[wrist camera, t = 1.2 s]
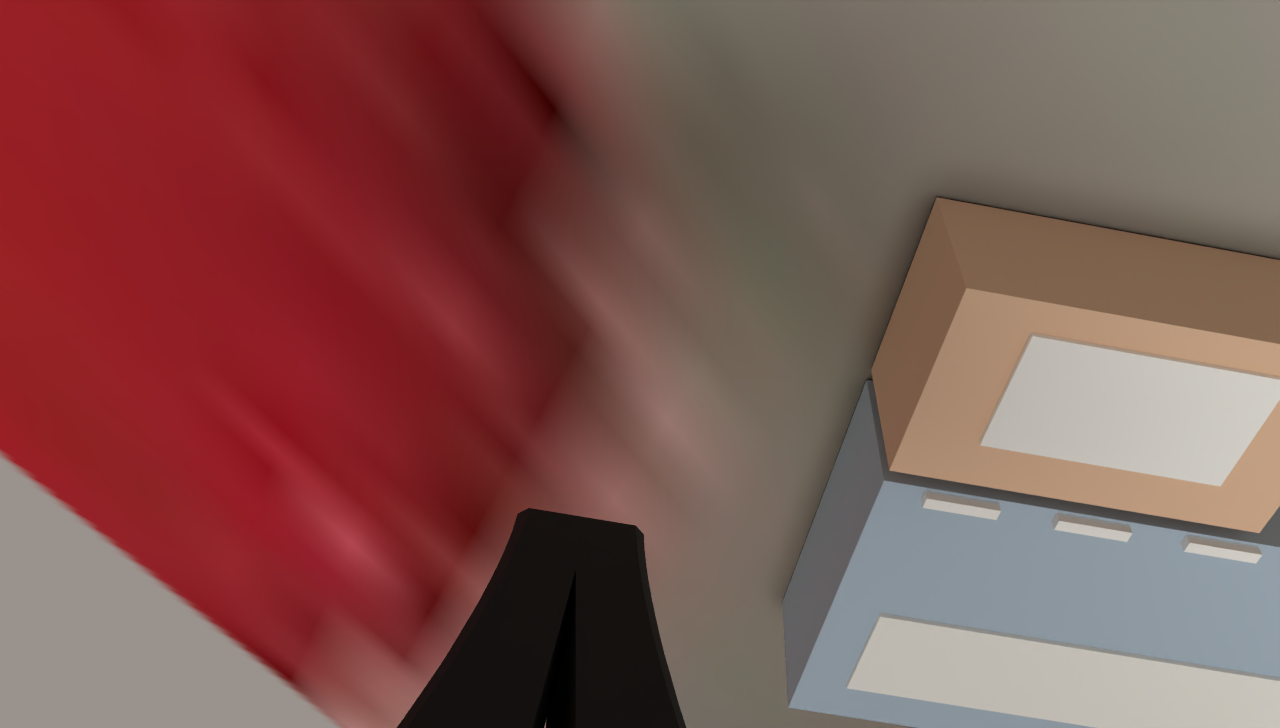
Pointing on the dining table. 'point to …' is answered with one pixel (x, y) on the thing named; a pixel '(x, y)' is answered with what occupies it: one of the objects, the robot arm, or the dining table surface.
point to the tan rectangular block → (1086, 367)
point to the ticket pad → (1024, 607)
